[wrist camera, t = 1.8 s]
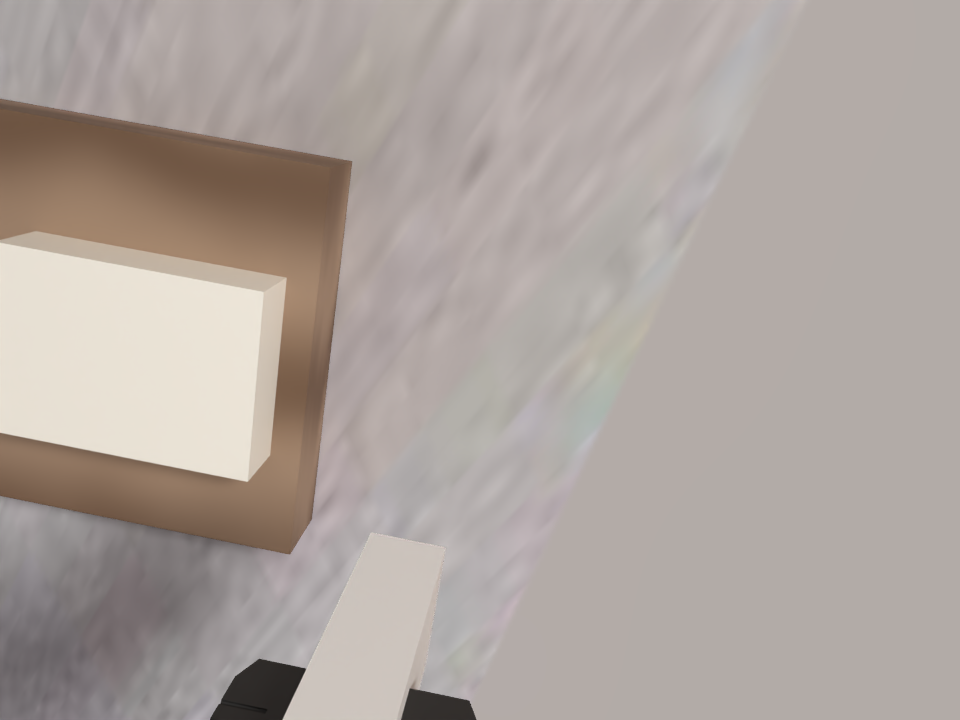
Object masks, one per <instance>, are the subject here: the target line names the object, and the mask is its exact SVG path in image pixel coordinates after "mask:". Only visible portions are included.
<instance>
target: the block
mask: <svg viewBox="0 0 960 720" xmlns="http://www.w3.org/2000/svg"><path fill="white" fill-rule="evenodd" d="M286 279H287V278H286V277H280V276H275V275H270V274H264V273H259V272H253V271H248V270H243V269H237V268H232V267H227V266H221V265H216V264H210V263H205V262H200V261H194V260H189V259H183V258H178V257H173V256H167V255H162V254H156V253H151V252H146V251H140V250H135V249H130V248H124V247H119V246H113V245H108V244H103V243H97V242H92V241H86V240H81V239H76V238H70V237H65V236H60V235H54V234H49V233H43V232H38V231H34V232H30V233H26V234H22V235H18V236H14V237H10V238H6V239H2V240H0V433H4V434H9V435H14V436H19V437H24V438H29V439H34V440H39V441H44V442H49V443H54V444H59V445H65V446H70V447H75V448H80V449H85V450H90V451H95V452H100V453H105V454H110V455H115V456H120V457H125V458H130V459H135V460H140V461H145V462H150V463H155V464H160V465H165V466H170V467H175V468H180V469H185V470H190V471H195V472H200V473H205V474H210V475H215V476H221V477H226V478H231V479H236V480H241V481H246V482H248V481H249V480H250V479H251V477H252V476H253V475H254V474H255V473H256V471H257V470H258V469H259V468H260V467H261V466H262V464H263V463H264V462H265V461H266V460H267V458H268V457H269V456H270V451H271V440H272V429H273V418H274V408H275V397H276V386H277V376H278V365H279V354H280V343H281V333H282V322H283V311H284V301H285V290H286Z"/></svg>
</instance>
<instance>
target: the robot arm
mask: <svg viewBox="0 0 960 720" xmlns="http://www.w3.org/2000/svg"><path fill="white" fill-rule="evenodd" d="M445 550H446V547H441V546H436V545H431V544H426V543H421V542H416V541H411V540H406V539H401V538H396V537H391V536H386V535H381V534H376V533H371V534H370V536H369V538H368V540H367V542H366V544H365V546H364V548H363V551H362V553H361V555H360V557H359V559H358V561H357V563H356V565H355V568H354V570H353V572H352V574H351V576H350V578H349V580H348V582H347V584H346V587H345V589H344V591H343V593H342V595H341V597H340V599H339V601H338V603H337V606H336V608H335V610H334V612H333V614H332V616H331V618H330V620H329V622H328V625H327V627H326V629H325V631H324V633H323V635H322V637H321V639H320V641H319V644H318V646H317V648H316V650H315V652H314V654H313V656H312V658H311V660H310V663H309V665H308V667H307V669H305V668H300V667H296V666H291V665H286V664H281V663H276V662H272V661H267V660H262V659H259V660H257V661H256V662H254V663H253V664H252V665H250V666H249V667H248V668H246V669H245V670H243V671H242V672H241V673H239V674H238V675H237V676H235V678H234V679H233V681H232V683H231V684H230V686H229V688H228V690H227V691H226V693H225V695H224V696H223V698H222V700H221V704H219V705H218V706H217V708H216V710H215V711H214V713H213V715H212V717H211V718H210V720H476V717H475V715H474V712H473V709H472V707H471V704H470V701H468V700H463V699H459V698H454V697H449V696H444V695H440V694H435V693H430V692H425V691H420V690H419V689H420V685H421V681H422V677H423V673H424V670H425V666H426V661H427V655H428V649H429V643H430V637H431V632H432V626H433V620H434V614H435V608H436V602H437V597H438V591H439V585H440V579H441V573H442V567H443V562H444V556H445Z"/></svg>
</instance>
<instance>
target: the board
mask: <svg viewBox="0 0 960 720" xmlns="http://www.w3.org/2000/svg"><path fill="white" fill-rule="evenodd" d="M351 167H352V161H347V160H341V159H336V158H330V157H324V156H319V155H313V154H308V153H302V152H296V151H291V150H285V149H279V148H274V147H268V146H263V145H257V144H251V143H246V142H240V141H234V140H229V139H223V138H218V137H212V136H206V135H201V134H195V133H189V132H184V131H178V130H173V129H167V128H161V127H156V126H150V125H144V124H139V123H133V122H127V121H122V120H116V119H111V118H105V117H99V116H94V115H88V114H82V113H77V112H71V111H66V110H60V109H54V108H49V107H43V106H37V105H32V104H26V103H21V102H15V101H9V100H4V99H0V240H2V239H6V238H10V237H14V236H18V235H22V234H26V233H30V232H34V231H38V232H43V233H49V234H54V235H60V236H65V237H70V238H76V239H81V240H86V241H92V242H97V243H103V244H108V245H113V246H119V247H124V248H130V249H135V250H140V251H146V252H151V253H156V254H162V255H167V256H173V257H178V258H183V259H189V260H194V261H200V262H205V263H210V264H216V265H221V266H227V267H232V268H237V269H243V270H248V271H253V272H259V273H264V274H270V275H275V276H280V277H286V278H287V279H286V290H285V301H284V311H283V322H282V333H281V343H280V354H279V365H278V376H277V386H276V397H275V408H274V418H273V429H272V440H271V451H270V456H269V457H268V458H267V460H266V461H265V462H264V463H263V464H262V466H261V467H260V468H259V469H258V470H257V471H256V473H255V474H254V475H253V476H252V477H251V479H250V480H249V481H248V482H246V481H241V480H236V479H231V478H226V477H221V476H215V475H210V474H205V473H200V472H195V471H190V470H185V469H180V468H175V467H170V466H165V465H160V464H155V463H150V462H145V461H140V460H135V459H130V458H125V457H120V456H115V455H110V454H105V453H100V452H95V451H90V450H85V449H80V448H75V447H70V446H65V445H59V444H54V443H49V442H44V441H39V440H34V439H29V438H24V437H19V436H14V435H9V434H4V433H0V496H4V497H9V498H14V499H19V500H24V501H29V502H34V503H39V504H44V505H49V506H53V507H58V508H63V509H68V510H73V511H78V512H83V513H88V514H93V515H98V516H103V517H108V518H113V519H118V520H123V521H127V522H132V523H137V524H142V525H147V526H152V527H157V528H162V529H167V530H172V531H177V532H182V533H187V534H192V535H197V536H201V537H206V538H211V539H216V540H221V541H226V542H231V543H236V544H241V545H246V546H251V547H256V548H261V549H266V550H271V551H275V552H280V553H285V554H291V552H292V550H293V549H294V547H295V545H296V544H297V542H298V541H299V539H300V537H301V536H302V534H303V533H304V531H305V529H306V528H307V526H308V524H309V523H310V521H311V520H312V512H313V503H314V494H315V485H316V476H317V467H318V458H319V450H320V441H321V432H322V423H323V414H324V405H325V397H326V388H327V379H328V370H329V361H330V352H331V343H332V335H333V326H334V317H335V308H336V299H337V290H338V282H339V273H340V264H341V255H342V246H343V237H344V228H345V220H346V211H347V202H348V193H349V184H350V175H351Z"/></svg>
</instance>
